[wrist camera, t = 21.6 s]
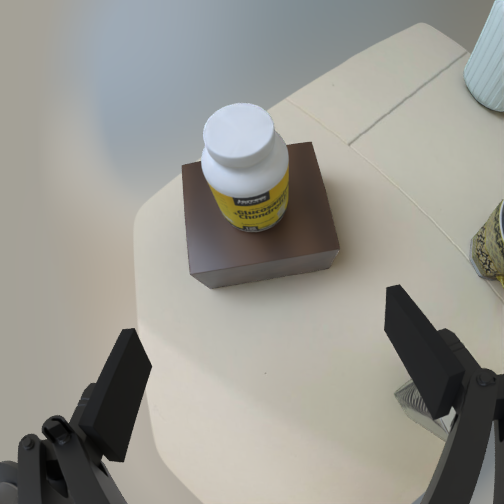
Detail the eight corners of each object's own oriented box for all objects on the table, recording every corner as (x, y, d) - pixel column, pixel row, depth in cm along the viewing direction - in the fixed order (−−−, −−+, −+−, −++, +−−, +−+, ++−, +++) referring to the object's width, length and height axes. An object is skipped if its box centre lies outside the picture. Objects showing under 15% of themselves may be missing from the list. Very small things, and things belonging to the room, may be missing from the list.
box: (424, 366, 31) (483, 373, 19) (440, 393, 30) (500, 409, 18) (390, 394, 31) (438, 417, 19) (407, 421, 30) (458, 451, 18)
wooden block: (209, 288, 37) (189, 274, 29) (199, 196, 40) (181, 165, 33) (329, 268, 36) (340, 248, 28) (307, 177, 39) (311, 141, 32)
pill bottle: (227, 241, 30) (193, 181, 19) (217, 181, 32) (185, 106, 20) (295, 226, 29) (299, 158, 18) (280, 167, 31) (275, 86, 20)
